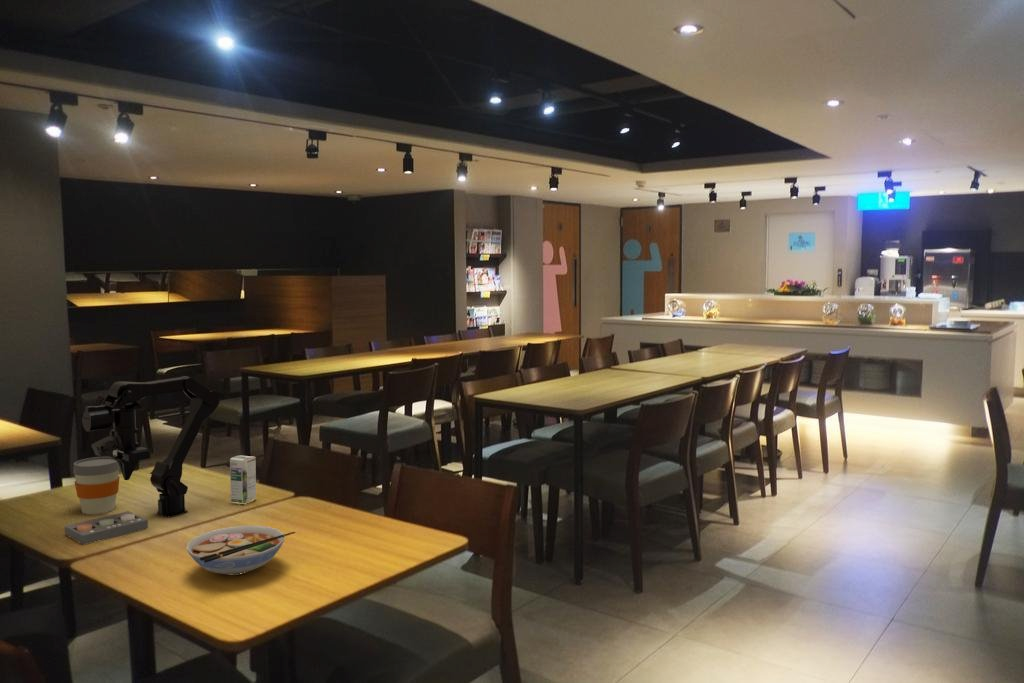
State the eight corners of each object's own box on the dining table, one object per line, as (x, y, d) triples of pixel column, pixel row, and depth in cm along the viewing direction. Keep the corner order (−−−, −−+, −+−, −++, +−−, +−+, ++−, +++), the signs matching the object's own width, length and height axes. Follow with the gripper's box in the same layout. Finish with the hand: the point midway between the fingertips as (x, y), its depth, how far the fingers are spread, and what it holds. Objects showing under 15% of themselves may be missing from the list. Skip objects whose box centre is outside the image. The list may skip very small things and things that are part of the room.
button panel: (128, 519, 226) (128, 510, 226) (147, 528, 218) (147, 519, 218) (65, 534, 213) (64, 525, 212) (83, 544, 205) (82, 535, 205)
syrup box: (230, 504, 242) (228, 458, 240) (241, 498, 247) (240, 454, 246) (245, 505, 240) (244, 460, 239) (257, 500, 246) (256, 455, 244)
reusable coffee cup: (130, 504, 240) (128, 457, 239) (105, 517, 228) (103, 467, 226) (92, 502, 242) (90, 455, 240) (65, 515, 229) (63, 465, 228)
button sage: (110, 528, 218) (110, 517, 218) (116, 530, 216) (116, 520, 215) (97, 531, 215) (97, 520, 215) (103, 534, 213) (102, 523, 213)
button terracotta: (89, 533, 214) (88, 522, 213) (94, 536, 211) (94, 525, 211) (75, 536, 211) (74, 526, 211) (80, 539, 209) (80, 528, 208)
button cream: (131, 523, 223) (131, 512, 222) (137, 525, 220) (137, 515, 220) (118, 526, 220) (118, 515, 219) (124, 528, 217) (124, 518, 217)
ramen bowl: (256, 545, 206) (255, 515, 205) (307, 566, 192) (307, 534, 191) (164, 573, 187) (163, 540, 186) (214, 599, 173) (213, 563, 172)
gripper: (80, 425, 219) (83, 479, 221) (109, 435, 207) (111, 492, 209) (121, 420, 228) (123, 472, 229) (151, 429, 216) (152, 483, 217)
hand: (126, 479), depth 221 cm, fingers closed
